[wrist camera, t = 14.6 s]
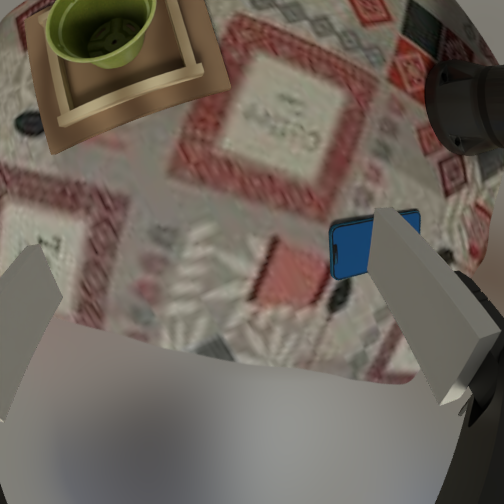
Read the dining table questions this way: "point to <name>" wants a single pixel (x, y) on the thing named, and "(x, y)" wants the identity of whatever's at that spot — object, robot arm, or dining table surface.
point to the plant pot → (91, 22)
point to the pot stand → (126, 75)
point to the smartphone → (356, 245)
